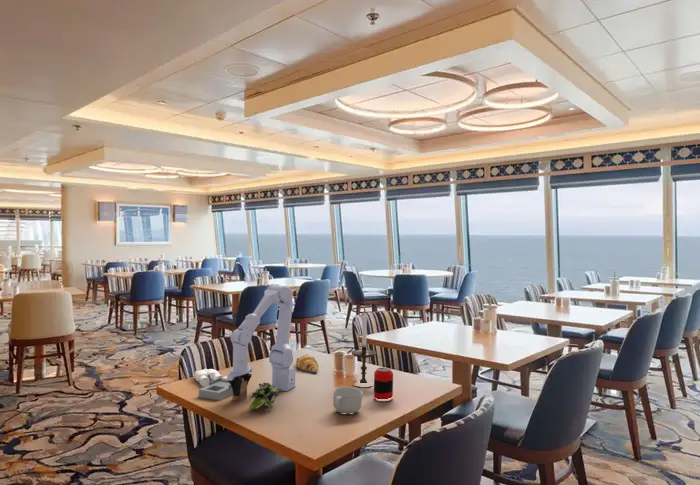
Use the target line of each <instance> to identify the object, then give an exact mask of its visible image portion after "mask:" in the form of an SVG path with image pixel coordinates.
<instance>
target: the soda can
mask: <svg viewBox="0 0 700 485" xmlns="http://www.w3.org/2000/svg"><path fill="white" fill-rule="evenodd" d="M373 382H374V386H373V398H374V397H375V398H377V399H388V398H391V397H392V396H393V397H394V392H393V391H394V372H393V371H392V369H391V368H390V367H389V368H388V367H378V368H376V369H375V370H374V377H373Z"/></svg>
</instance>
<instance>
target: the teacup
mask: <svg viewBox="0 0 700 485" xmlns="http://www.w3.org/2000/svg"><path fill="white" fill-rule="evenodd" d="M363 395H364V394H363V391H362V390H361V389H359V388H358V387H351V386H339V387H336V388H333V402H332V403H333V407H334V409H335V410H336V411H337V412H338V413H339V412H340V413H339V414H341V413H346V414H350V413H355V412H356V413H357V412H358V411H360V409H361V406H362V404H363V403H362V401H363ZM356 413H355V414H356Z"/></svg>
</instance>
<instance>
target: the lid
mask: <svg viewBox="0 0 700 485" xmlns="http://www.w3.org/2000/svg"><path fill="white" fill-rule="evenodd" d="M232 369H233V367H232V368H231V369H230V371H231V370H232ZM248 374H250V372H248ZM221 380H223V381H228V380H227V375H225V376H224V377H222V378H221Z"/></svg>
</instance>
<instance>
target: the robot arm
mask: <svg viewBox="0 0 700 485" xmlns="http://www.w3.org/2000/svg"><path fill="white" fill-rule="evenodd" d="M274 304H276V305H277V306H278V307H279V310H278V319H277V328H276V336H275V337H276V339H275V343H274V345H272V346H271V347H270V348H271V350H270V352H269V355H268V361H269V363H270V364H271V368H272V371H271V380H272V381H271V385H272V386H273V385H274V386H275V387H276V388H277V387H279V389H281V391H284V392H288V391H290V390H291V389H294V388H296V386H297V385H296V370H295V368H293V367H291V366H292V364H293V362H294V354H293V349H292V347H291V345H290V333H291V324H292V314H293V305H294V304H293V290H292V289H291V288H290V287H289V286H288V285H278V284H275V283H274V284H273V283H272V284H270V285H268V286H267V288H266V289H265V290H264V295H263V297H262V298H261V300H260V301H259V303H258V305H257V306H256V308H255V309H254V311H253V312H252V313H248V314H247V315H246V316H245V317H244V318H245V319H244V320H243V321H242V322H241V324H240V325H239V326H238V328H236V329H234V330H233V331H232V333H231V335H230V336H229V338H230V339H229V340H230V341H231V343H232V368H233V369H232V368H231V369H232V370H231V369H230V373H229V374H227V375H226V376H227V380H228V381H229V383H230V384H231V387H232V390H233V394H234V396H239V394H240V386H241V383H242V380H243V379H239V378H244V380H246V381H247V386H248V384H249V382H250V380H251V378H252V375H253V374H252V372H253V366H249V365H248V364H249V362H248V361H249V360H248V358H249V355H248V353H249V343H251V341H252V336H253V333H254V332H255V330H256V329H257V327H258V326H259V324H260V323H261V317H262V316H263V315H264V314H265V313H266V312H267V310H268V309H269V308H270V306H271V305H274ZM248 372H249V374H248ZM233 394H232V395H233Z"/></svg>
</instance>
